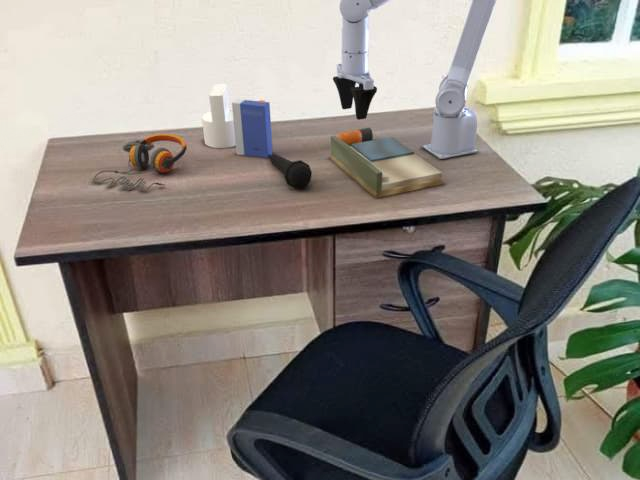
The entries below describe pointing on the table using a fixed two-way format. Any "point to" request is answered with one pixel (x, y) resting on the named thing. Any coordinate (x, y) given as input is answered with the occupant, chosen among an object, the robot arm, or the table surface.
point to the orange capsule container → (356, 136)
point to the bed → (384, 166)
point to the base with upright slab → (219, 119)
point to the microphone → (292, 171)
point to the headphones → (159, 159)
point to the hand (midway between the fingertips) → (353, 113)
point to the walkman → (252, 128)
